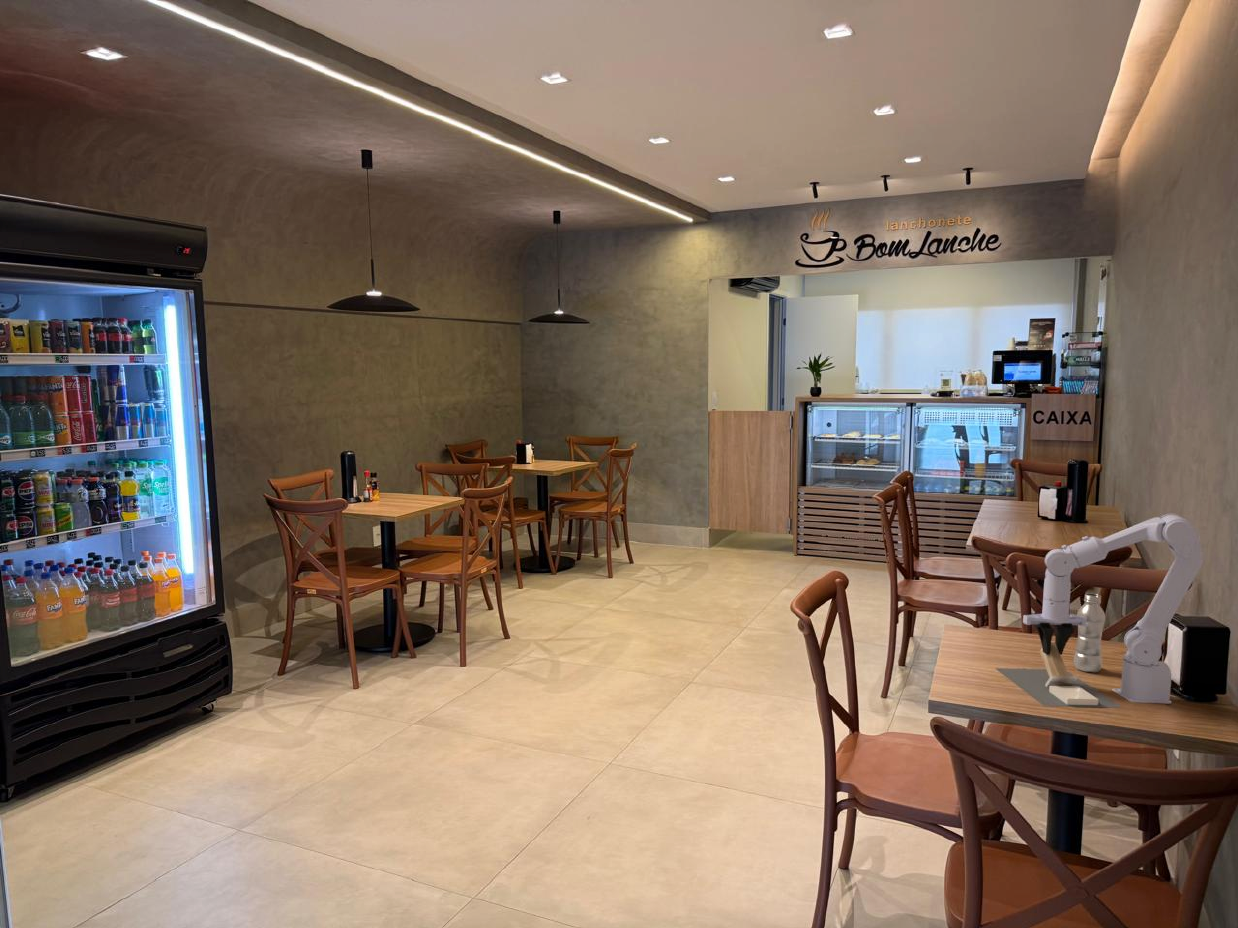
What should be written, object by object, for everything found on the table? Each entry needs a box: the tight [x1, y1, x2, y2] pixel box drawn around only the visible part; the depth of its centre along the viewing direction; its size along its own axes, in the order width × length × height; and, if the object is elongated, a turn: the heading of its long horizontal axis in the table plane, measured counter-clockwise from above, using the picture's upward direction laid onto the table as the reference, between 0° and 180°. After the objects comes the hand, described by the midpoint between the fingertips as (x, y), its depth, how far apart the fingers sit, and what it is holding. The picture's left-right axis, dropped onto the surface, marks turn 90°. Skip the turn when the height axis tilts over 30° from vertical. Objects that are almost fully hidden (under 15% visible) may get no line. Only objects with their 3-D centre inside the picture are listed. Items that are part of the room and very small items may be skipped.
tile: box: [1049, 686, 1098, 706], centre depth 193 cm, size 7×2×8 cm
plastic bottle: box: [1073, 592, 1106, 673], centre depth 213 cm, size 6×7×20 cm
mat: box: [994, 667, 1124, 709], centre depth 201 cm, size 18×25×1 cm
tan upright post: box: [1039, 642, 1079, 687], centre depth 202 cm, size 6×10×4 cm
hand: (1052, 653), depth 203 cm, fingers closed on tan upright post, 2 cm apart
